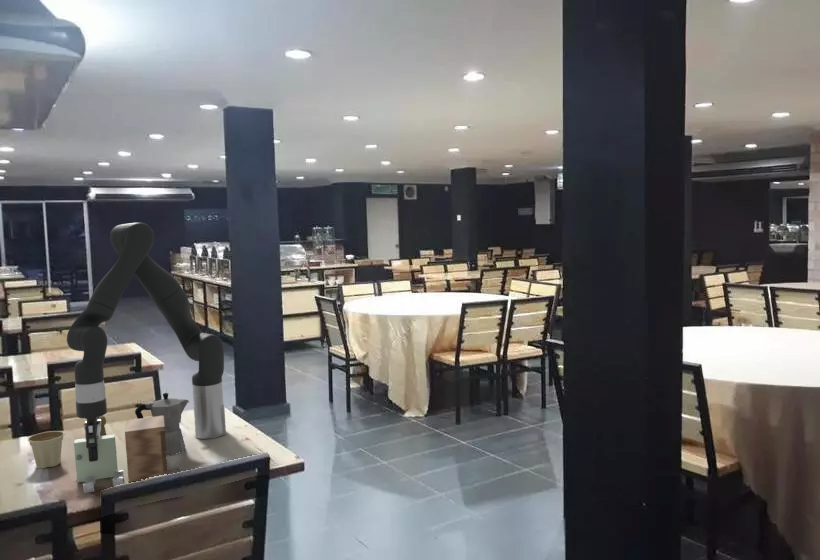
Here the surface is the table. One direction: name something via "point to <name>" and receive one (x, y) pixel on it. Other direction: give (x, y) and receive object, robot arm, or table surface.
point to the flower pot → (47, 448)
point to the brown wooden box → (145, 448)
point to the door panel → (102, 465)
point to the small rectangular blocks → (90, 482)
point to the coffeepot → (168, 420)
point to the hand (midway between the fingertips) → (94, 455)
